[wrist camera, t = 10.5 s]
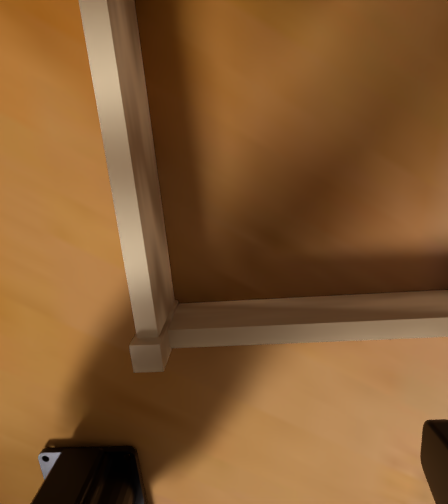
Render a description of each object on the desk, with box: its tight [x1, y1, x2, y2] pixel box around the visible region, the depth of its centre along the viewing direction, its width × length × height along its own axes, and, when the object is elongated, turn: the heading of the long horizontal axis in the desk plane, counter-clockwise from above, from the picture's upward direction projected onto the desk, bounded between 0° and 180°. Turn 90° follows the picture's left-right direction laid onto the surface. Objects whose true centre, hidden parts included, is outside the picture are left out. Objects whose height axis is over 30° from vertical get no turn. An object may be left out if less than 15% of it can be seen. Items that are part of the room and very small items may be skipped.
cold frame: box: [79, 0, 448, 373], centre depth 15 cm, size 18×17×5 cm
